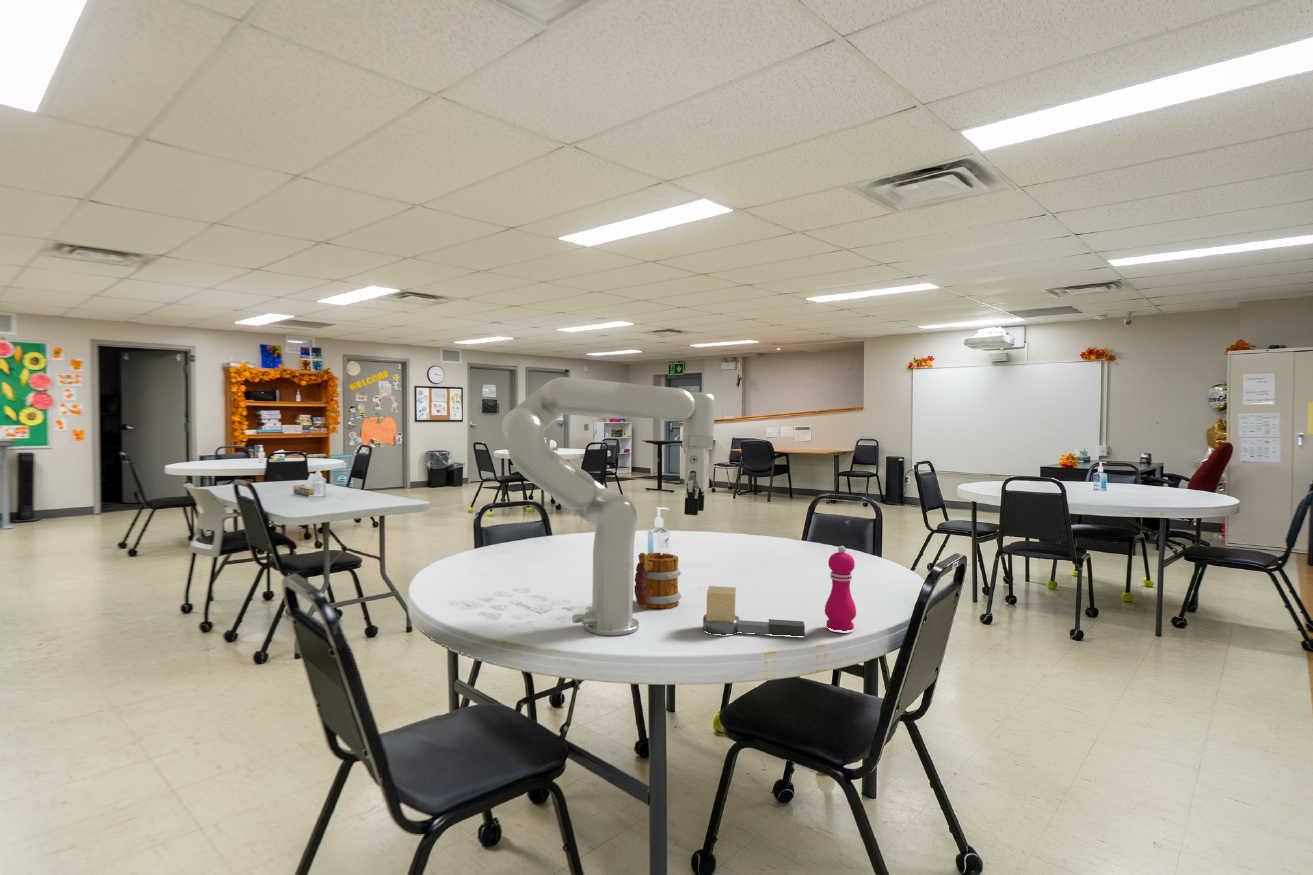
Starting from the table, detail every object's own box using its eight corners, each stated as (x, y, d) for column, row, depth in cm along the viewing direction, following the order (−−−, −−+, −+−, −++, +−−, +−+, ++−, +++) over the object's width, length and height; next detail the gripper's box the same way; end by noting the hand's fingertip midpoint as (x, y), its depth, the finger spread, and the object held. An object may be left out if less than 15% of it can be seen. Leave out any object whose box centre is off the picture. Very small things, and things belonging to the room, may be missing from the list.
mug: (687, 602, 175) (688, 547, 175) (653, 616, 162) (654, 557, 161) (654, 596, 181) (655, 542, 181) (619, 609, 168) (620, 551, 167)
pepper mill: (832, 623, 159) (833, 542, 159) (860, 629, 154) (862, 545, 154) (819, 629, 153) (821, 545, 153) (848, 636, 149) (850, 550, 148)
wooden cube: (734, 622, 148) (734, 594, 148) (706, 620, 149) (706, 592, 149) (735, 614, 154) (735, 587, 154) (708, 612, 155) (708, 585, 155)
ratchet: (701, 634, 148) (702, 602, 148) (704, 623, 156) (705, 593, 156) (805, 641, 145) (806, 608, 144) (802, 630, 153) (803, 598, 153)
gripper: (708, 444, 149) (704, 518, 149) (717, 443, 166) (713, 510, 166) (676, 442, 151) (672, 515, 151) (688, 442, 168) (685, 508, 168)
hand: (694, 512), depth 159 cm, fingers open, 9 cm apart
